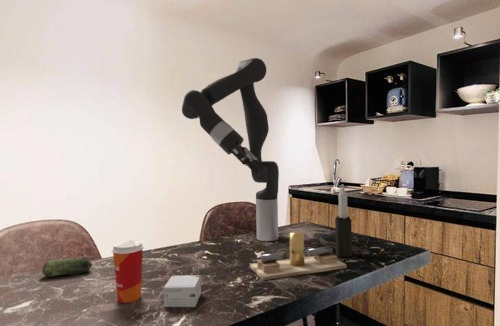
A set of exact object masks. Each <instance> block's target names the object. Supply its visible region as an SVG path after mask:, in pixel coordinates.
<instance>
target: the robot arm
mask: <svg viewBox="0 0 500 326" xmlns="http://www.w3.org/2000/svg"><path fill="white" fill-rule="evenodd" d="M266 74H267V66H266V64H265V61H263V60H262V59H261V58H258V57H253V58H248V59H245V60H241V61H239V62H238V63H237V65H236V70H235V72H233V73H230V74H229V75H226V76H223V77H221V78H219V79H216V80H214V81H212V82H210V83H208V84H207V85H205V86H204V87H202V89H201V91H199V90H195V89H190V90H188V91H187V92H185V95H184V97H183V101H182V105H181V112H182V115H183V116H184V117H185V118H187V119H190V120H194V119H199V125H200V127H201V128H202V130H204V131H205V133H206V134H207V135H209V137H211V139H212V140H213V141H214V142H215V144H216V145H217V146H219V147H220V148H221V150H223V151H224V152H225V153H226V154H227V155H233V156H234V157H236V159H237V160H238V161H239V162H241V164H242V165H244V166H246V167H248V168H249V169H250V172H251V177H252V180H253V181H254V182H255V183H262V184H266V185H265V188H263V189H262V190H258V191H257V192H256V193H255V207H256V208H255V212H256V213H255V215H256V216H255V217H256V218H255V219H256V222H255V223H256V240H257V241H260V242H273V241H277V240H279V215H278V214H279V212H278V210H279V209H278V207H279V206H278V205H279V204H278V194H279V181H280V180H279V179H280V178H279V177H280V175H279V174H280V171H279V170H280V169H279V166H278V163H277V162H275V161H272V160H271V161H270V160H269V161H267V160H266V161H265V160H262V151H263V150H262V148H263V146H264V144H265V141H266V140H267V137H268V134H269V131H270V127H269V118H268V114H267V111H266V110H265V108H264V106H263V105H262V104H261V102H260V100H259V99H258V97H257V94H256V90H255V83H258V82H261V81H262V80H263V79H264V78H265V77H266ZM238 91H240V97H241V101H242V106H243V107H242V108H243V112H244V120H245V128H246V134H247V139H248V147H249V149H248V148H247V147H245V146H242V144H243V142H244V137H243V136H242V135H240V134H239V132H238V131H236V130H235V129H234V127H232V125H230V124H229V123H227V121H225V120H224V119H223V118H222V117H221V116H220V115H219V114H217V112H216V111H215V108H213V107H214V105H215V104H217V103H219V102H220V101H222V100H224V99H225V98H227V97H229V96H230V95H231V94H234V93H235V92H238Z"/></svg>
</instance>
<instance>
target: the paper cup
mask: <svg viewBox="0 0 500 326" xmlns="http://www.w3.org/2000/svg"><path fill="white" fill-rule="evenodd" d="M144 248H145V247H144V245H143V243H142V241H140V240H135V241H134V240H129V241H128V240H125V241H120V242H117V243H115V244H113V246H112V249H111V252H112V254H113V265H114V276H115V277H114V278H115V286H116V296H117V301H118V303H121V304H130V303H134V302H137V301H138V300H140V299H141V297H142V285H143V284H142V282H143V281H142V279H143V276H142V275H143V249H144Z"/></svg>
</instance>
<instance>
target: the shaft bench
mask: <svg viewBox="0 0 500 326" xmlns="http://www.w3.org/2000/svg"><path fill="white" fill-rule="evenodd" d="M304 257H305V265H304V266H299V267H297V266H292V265H290V258H287V260H281V261H273V262H265V263H262V262H261V259H257V260H256V262H255V263H254V262H253V263H249V267H250V269H251V270H252V271H253V272H254V273H255V274H256V275H257V276H258V277H259V278H260V279H261V280H262V281H267V280H273V279H274V280H275V279H281V278H287V277H293V276H294V277H295V276H300V275H301V276H302V275H307V274H308V275H309V274H315V273H321V272H330V271H334V270H342V269H347V268H348V267H347V266H348V265H347V264H346V263H344V262H342V261H340V259H339V260H338V256H337V255H335V254H334V253H332V254H327V255H319V256H312V257H309V256H308V255H307V256H304Z"/></svg>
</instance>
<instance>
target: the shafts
mask: <svg viewBox="0 0 500 326" xmlns="http://www.w3.org/2000/svg"><path fill="white" fill-rule="evenodd" d="M327 254H333V248H332V246H322V247H315V248H308V249H307V250H306V255H307V257H308V256H309V257H312V256H319V255H327ZM287 259H289V257H288V253H287V251H283V252H281V251H280V252H274V253H265V254H260V260H261V262H262V263H265V262H273V261H281V260H287Z"/></svg>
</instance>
